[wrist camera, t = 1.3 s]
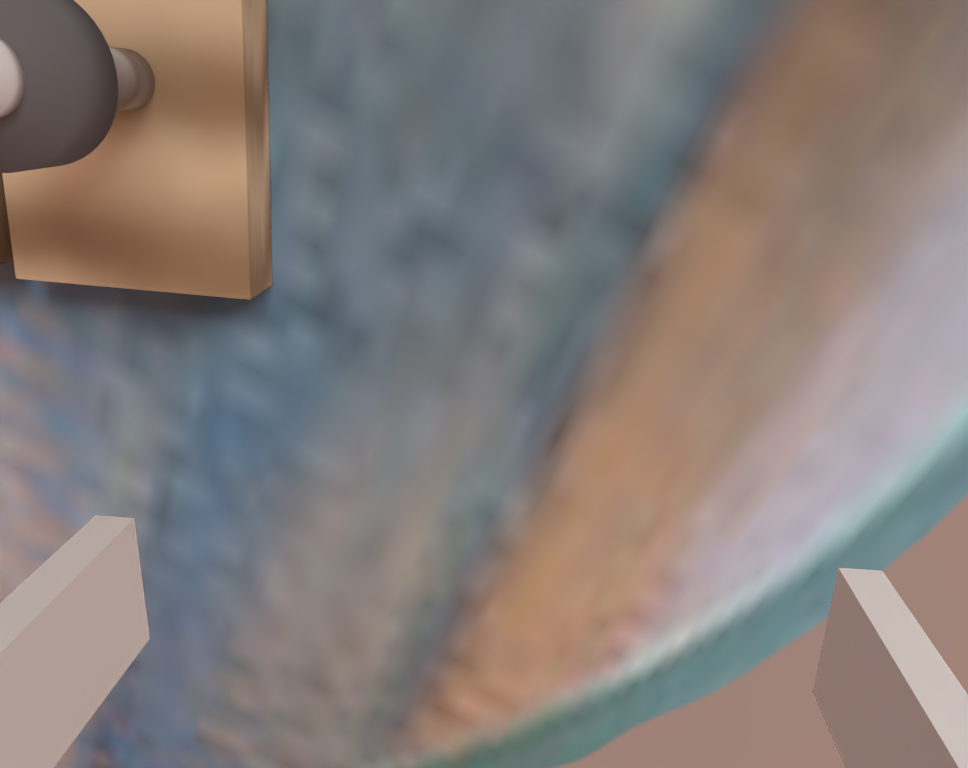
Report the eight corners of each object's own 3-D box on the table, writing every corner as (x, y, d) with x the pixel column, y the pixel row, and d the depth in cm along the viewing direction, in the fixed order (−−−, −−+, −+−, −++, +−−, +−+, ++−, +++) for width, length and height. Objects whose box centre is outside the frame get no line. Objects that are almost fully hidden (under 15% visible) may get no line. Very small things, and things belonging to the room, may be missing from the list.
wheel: (-66, -28, 27) (-141, -42, 24) (110, -15, 27) (55, -29, 24) (-39, 159, 29) (-105, 167, 26) (125, 173, 29) (76, 182, 26)
